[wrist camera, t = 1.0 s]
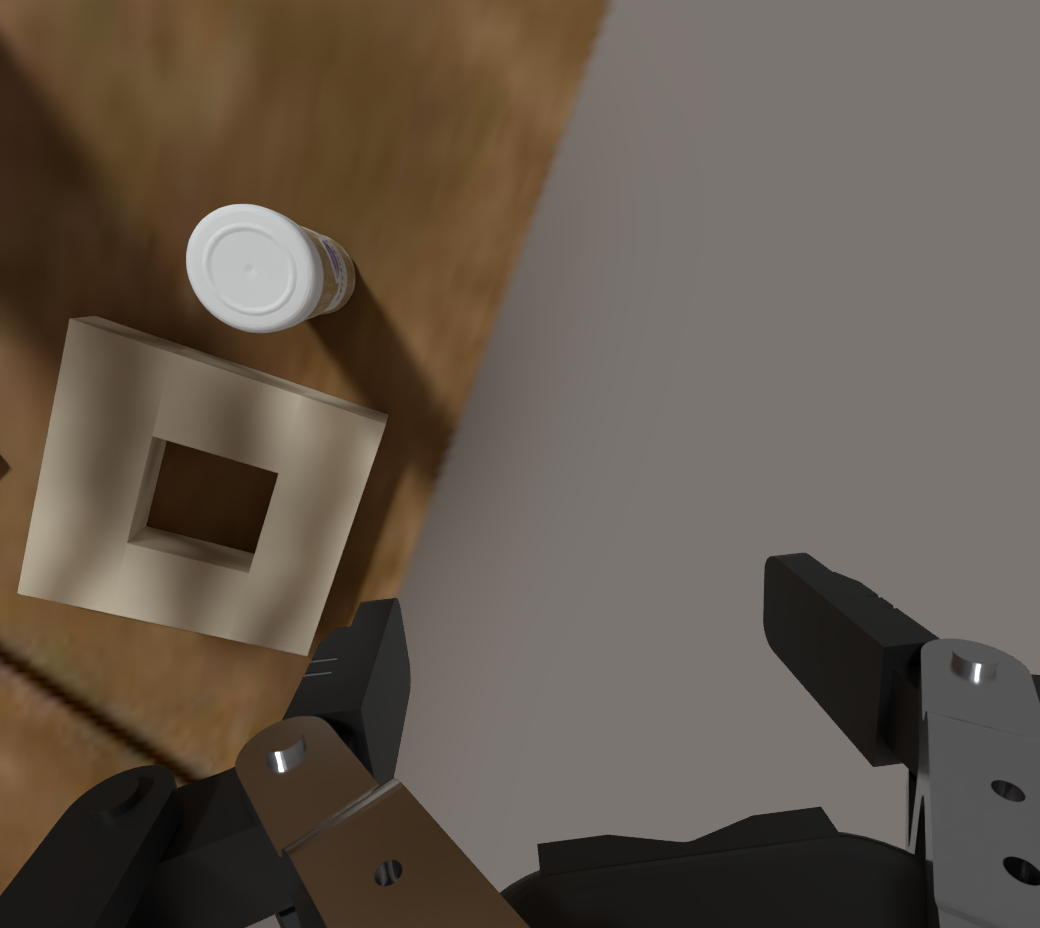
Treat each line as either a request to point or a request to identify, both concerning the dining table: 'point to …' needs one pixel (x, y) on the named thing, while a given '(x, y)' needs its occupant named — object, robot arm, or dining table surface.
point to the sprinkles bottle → (266, 269)
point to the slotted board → (134, 473)
